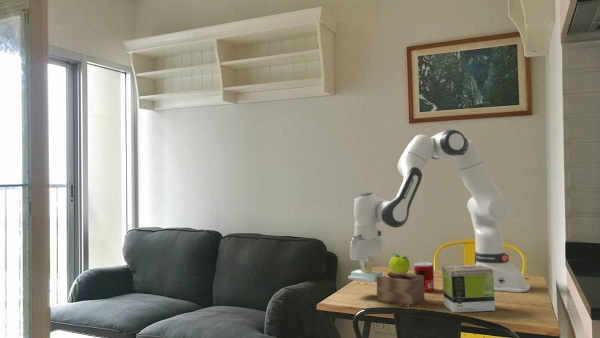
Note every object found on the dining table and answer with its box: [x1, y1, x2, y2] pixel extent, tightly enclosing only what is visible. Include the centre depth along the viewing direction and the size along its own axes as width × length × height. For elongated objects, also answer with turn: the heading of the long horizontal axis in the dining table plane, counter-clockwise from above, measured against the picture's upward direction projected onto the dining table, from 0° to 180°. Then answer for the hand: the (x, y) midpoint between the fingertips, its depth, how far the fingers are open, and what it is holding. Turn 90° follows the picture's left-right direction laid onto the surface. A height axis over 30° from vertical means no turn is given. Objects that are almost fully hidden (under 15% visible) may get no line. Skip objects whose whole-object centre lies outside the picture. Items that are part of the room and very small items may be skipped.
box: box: [376, 271, 425, 307], centre depth 187 cm, size 14×12×9 cm
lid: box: [347, 259, 386, 283], centre depth 195 cm, size 12×9×7 cm
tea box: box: [441, 264, 496, 313], centre depth 174 cm, size 15×10×15 cm
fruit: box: [389, 253, 411, 274], centre depth 236 cm, size 9×9×10 cm
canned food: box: [413, 261, 435, 293], centre depth 203 cm, size 8×8×11 cm
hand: (366, 268), depth 196 cm, fingers closed on lid, 3 cm apart
